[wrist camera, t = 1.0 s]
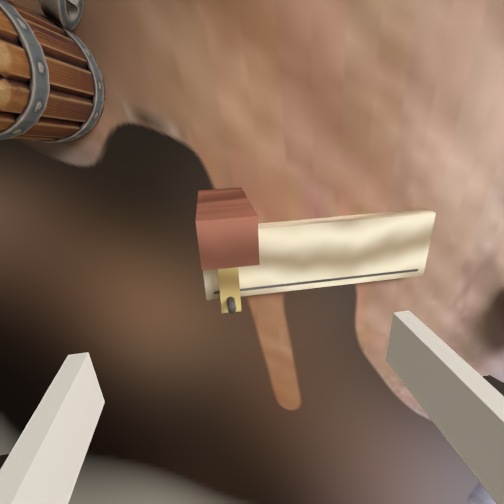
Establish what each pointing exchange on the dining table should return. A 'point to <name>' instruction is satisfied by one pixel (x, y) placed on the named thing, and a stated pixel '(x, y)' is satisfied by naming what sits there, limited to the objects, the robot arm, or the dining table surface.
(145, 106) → the dining table surface
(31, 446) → the robot arm
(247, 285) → the board
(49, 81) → the mug
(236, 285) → the block
